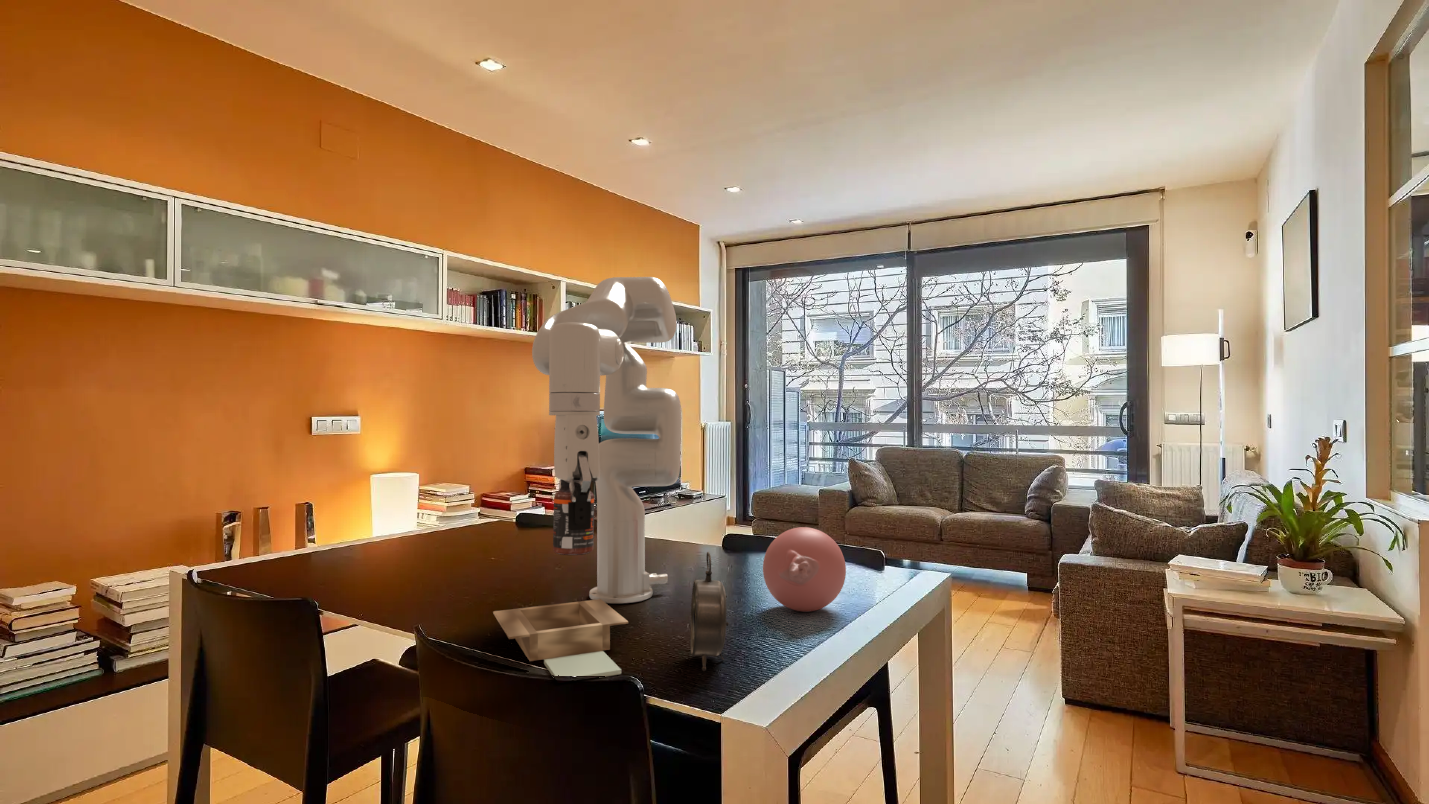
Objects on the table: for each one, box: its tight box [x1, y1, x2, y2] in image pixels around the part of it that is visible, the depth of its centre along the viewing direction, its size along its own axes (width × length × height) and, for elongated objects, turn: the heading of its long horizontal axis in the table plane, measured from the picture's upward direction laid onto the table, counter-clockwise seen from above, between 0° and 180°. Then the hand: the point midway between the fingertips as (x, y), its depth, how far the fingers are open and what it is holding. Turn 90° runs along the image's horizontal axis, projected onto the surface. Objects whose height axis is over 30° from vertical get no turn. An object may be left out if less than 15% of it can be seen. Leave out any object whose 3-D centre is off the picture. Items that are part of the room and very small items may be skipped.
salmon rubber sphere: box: [762, 526, 847, 613], centre depth 135 cm, size 15×20×15 cm
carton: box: [492, 599, 629, 662], centre depth 119 cm, size 18×15×4 cm
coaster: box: [543, 650, 622, 677], centre depth 106 cm, size 9×9×1 cm
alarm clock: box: [689, 551, 730, 672], centre depth 110 cm, size 11×5×16 cm, turn 5°
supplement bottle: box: [552, 478, 595, 556], centre depth 110 cm, size 6×6×11 cm
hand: (573, 525), depth 110 cm, fingers closed on supplement bottle, 6 cm apart
